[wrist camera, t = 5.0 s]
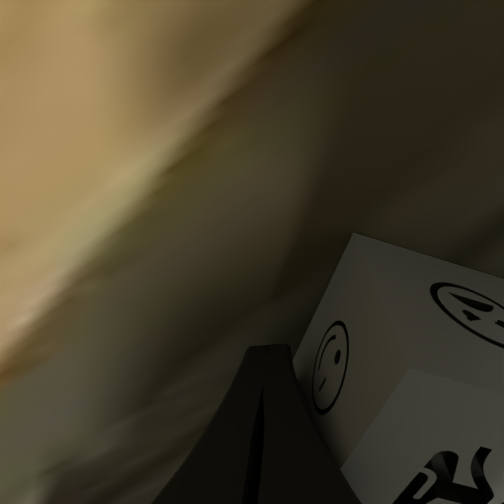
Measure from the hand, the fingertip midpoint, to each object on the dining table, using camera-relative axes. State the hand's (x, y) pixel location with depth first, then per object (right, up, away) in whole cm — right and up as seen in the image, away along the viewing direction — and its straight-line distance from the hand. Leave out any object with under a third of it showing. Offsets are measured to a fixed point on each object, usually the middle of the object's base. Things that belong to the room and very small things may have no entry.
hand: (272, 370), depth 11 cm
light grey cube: (+4, +1, +1) cm, 4 cm away
